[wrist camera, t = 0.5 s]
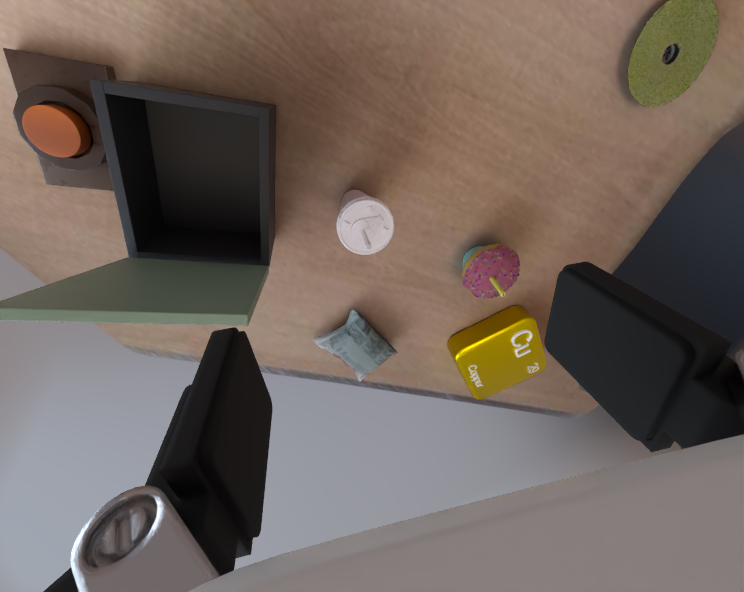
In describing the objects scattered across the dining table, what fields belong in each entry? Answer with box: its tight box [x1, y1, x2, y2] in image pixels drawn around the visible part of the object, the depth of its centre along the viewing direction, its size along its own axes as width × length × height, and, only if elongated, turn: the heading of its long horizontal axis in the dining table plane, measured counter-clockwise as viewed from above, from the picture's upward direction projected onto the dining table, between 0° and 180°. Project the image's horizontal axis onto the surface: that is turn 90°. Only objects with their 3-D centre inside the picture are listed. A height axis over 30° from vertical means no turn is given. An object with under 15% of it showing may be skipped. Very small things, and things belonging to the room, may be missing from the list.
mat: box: [628, 0, 719, 107], centre depth 41 cm, size 11×11×2 cm
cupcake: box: [462, 243, 520, 298], centre depth 47 cm, size 9×8×12 cm
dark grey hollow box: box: [89, 79, 276, 266], centre depth 36 cm, size 16×14×9 cm
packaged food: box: [314, 310, 397, 382], centre depth 54 cm, size 9×12×5 cm
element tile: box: [448, 305, 546, 400], centre depth 61 cm, size 15×15×5 cm
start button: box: [22, 104, 91, 158], centre depth 32 cm, size 4×4×2 cm
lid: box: [0, 257, 269, 326], centre depth 28 cm, size 17×14×1 cm
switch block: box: [3, 48, 116, 191], centre depth 34 cm, size 12×8×4 cm, turn 171°
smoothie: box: [337, 190, 394, 255], centre depth 38 cm, size 6×6×14 cm
